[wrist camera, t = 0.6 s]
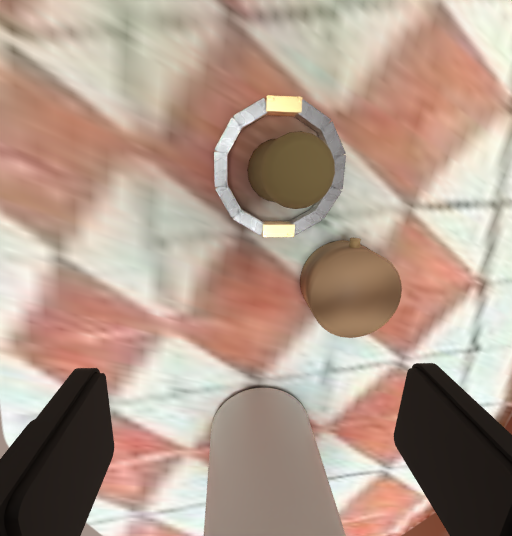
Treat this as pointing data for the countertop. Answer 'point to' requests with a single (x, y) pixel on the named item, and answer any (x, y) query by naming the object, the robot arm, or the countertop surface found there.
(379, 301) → the pot
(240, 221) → the collar
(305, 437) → the cylinder vase
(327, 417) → the countertop surface
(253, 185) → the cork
